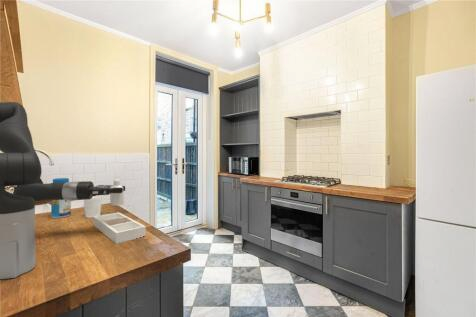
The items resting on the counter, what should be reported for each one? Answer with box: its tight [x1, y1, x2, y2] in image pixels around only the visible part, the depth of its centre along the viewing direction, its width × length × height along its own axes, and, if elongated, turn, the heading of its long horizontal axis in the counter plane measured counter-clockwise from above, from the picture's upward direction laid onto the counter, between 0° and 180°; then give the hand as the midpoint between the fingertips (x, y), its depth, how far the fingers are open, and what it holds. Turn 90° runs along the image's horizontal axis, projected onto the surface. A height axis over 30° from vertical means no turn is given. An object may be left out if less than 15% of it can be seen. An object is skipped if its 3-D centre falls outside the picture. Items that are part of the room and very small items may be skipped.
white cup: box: [83, 195, 102, 219], centre depth 120 cm, size 8×8×10 cm
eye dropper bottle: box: [109, 176, 124, 206], centre depth 97 cm, size 4×6×12 cm
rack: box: [92, 212, 147, 245], centre depth 98 cm, size 31×11×4 cm, turn 46°
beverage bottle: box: [50, 177, 72, 219], centre depth 119 cm, size 8×8×20 cm
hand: (123, 189), depth 98 cm, fingers closed on eye dropper bottle, 4 cm apart
